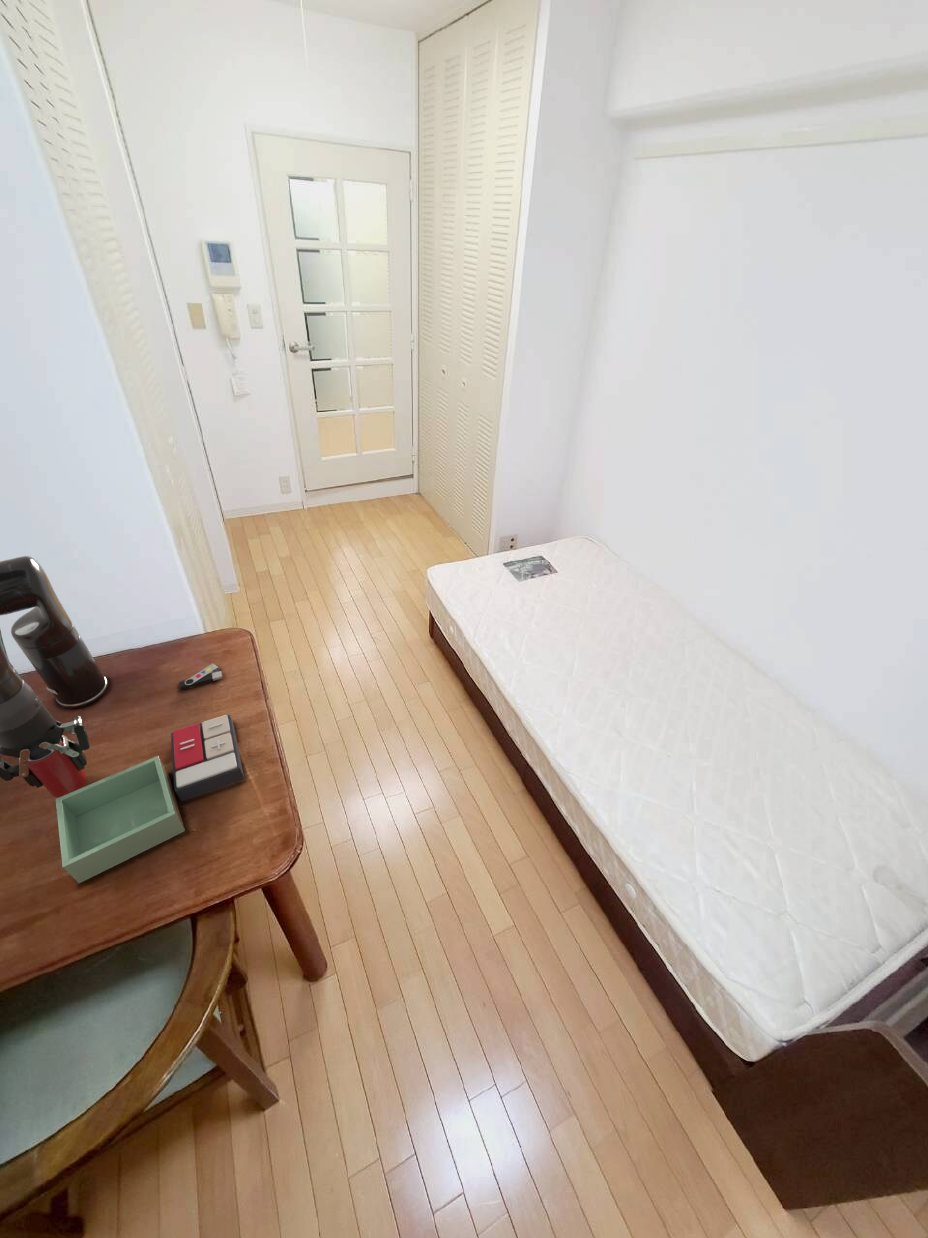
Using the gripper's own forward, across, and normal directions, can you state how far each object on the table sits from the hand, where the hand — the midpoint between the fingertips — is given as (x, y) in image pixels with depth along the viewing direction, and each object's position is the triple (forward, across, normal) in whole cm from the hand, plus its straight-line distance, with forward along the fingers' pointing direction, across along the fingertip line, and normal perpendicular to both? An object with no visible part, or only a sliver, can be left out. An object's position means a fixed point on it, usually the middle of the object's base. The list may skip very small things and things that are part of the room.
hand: (61, 774), depth 89 cm
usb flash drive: (+5, -26, -17) cm, 32 cm away
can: (+3, 0, 0) cm, 3 cm away
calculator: (+6, -22, +6) cm, 23 cm away
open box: (+6, -7, +12) cm, 15 cm away
